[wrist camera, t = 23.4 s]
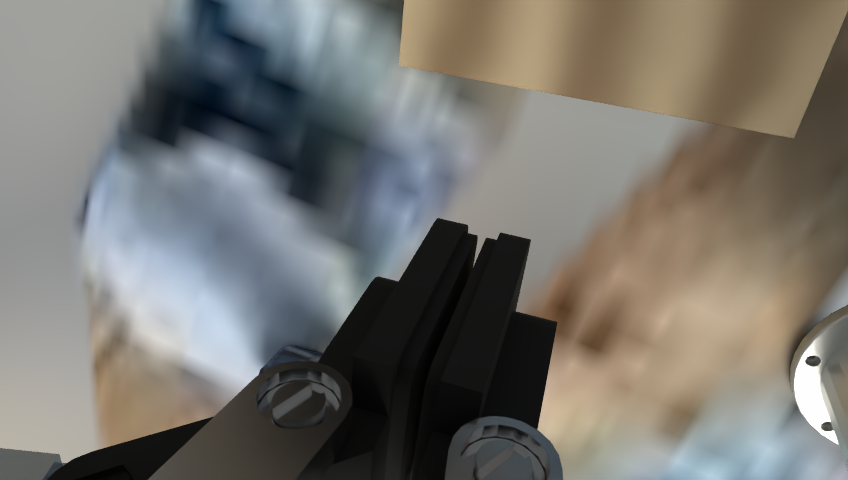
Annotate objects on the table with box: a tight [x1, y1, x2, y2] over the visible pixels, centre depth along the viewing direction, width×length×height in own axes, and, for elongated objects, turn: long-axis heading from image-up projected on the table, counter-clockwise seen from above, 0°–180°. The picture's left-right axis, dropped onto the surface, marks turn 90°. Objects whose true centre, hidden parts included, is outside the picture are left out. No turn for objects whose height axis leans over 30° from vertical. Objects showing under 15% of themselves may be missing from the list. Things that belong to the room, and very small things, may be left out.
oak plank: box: [399, 0, 848, 138], centre depth 32 cm, size 20×8×4 cm, turn 84°
